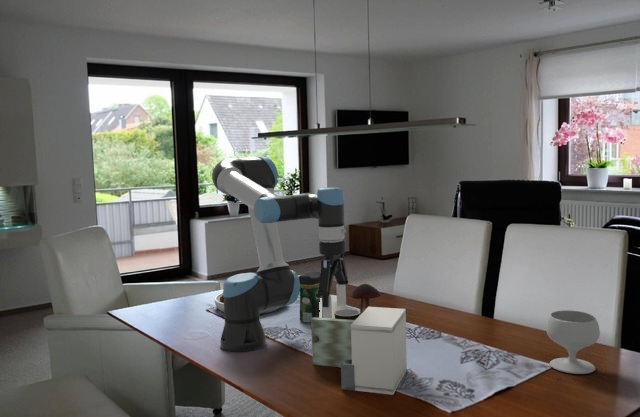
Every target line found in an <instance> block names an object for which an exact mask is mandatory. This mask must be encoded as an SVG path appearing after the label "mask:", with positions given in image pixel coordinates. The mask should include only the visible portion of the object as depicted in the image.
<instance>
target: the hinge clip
mask: <svg viewBox="0 0 640 417" xmlns="http://www.w3.org/2000/svg"><path fill="white" fill-rule="evenodd" d="M340 377H341V390H344V391H351V392H352V391H355V379H354V365H352V359H349V358H346V359H345V363H341V367H340ZM355 392H356V391H355Z"/></svg>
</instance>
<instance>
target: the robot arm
mask: <svg viewBox="0 0 640 417" xmlns="http://www.w3.org/2000/svg"><path fill="white" fill-rule="evenodd" d="M278 172H279V171H278V168H277V166H276V164H275V163H274V161H273V160H272V159H271V158H269V157H267V156H258V155H257V156H245V157H243V156H241V157H228V158H227V157H226V158H224V159H222V160H220V161H219V162H218V163H217V164H216V165H215V166H214V168H213V171H212V173H211V177H212V178H211V180H212V184H213V186H214V187H215V188H216V189H217V190H218V191H219V192H221V193H222V194H225V195H228V196H229V195H230V196H232V197H234V198H236V199H237V200H238V201H240V202H241V203H243V204H244V205H245V206H247V207H248V210H249V214H250V215H249V216H250V220H251V221H250V222H251V226H252V231H253V237H254V240H255V242H254V243H255V247H256V251H257V257H258V263H259V268H258V269H257V270H256V272H242V273H238V274H234V275H232V276H229V277H228V278H226V279H225V280H224V283H223V285H222V286H223V290H222V293H223V298H224V312H223V313H224V314H223V315H224V324H223V329H222V332H221V336H220V347H221V349H223V350H224V351H227V352H235V353H237V352H240V353H241V352H249V351H255V350H258V349H260V348H262V347H265V345H266V344H267V336H266V334H265V331H264V328H263V326H262V325H263V324H262V322H261V318H260V317H261V314H259V311H261V310H267V309H272V308H277V307H281V308H282V307H286V306H289V305H293V304H294V303H296V301H297V299H298V298H299V296H300V281H299V276H298V274H297V272H296V271H295V270H291V267H290V264H288V263H287V262H285V259H284V255H283V254H284V252H283V249H282V244H281V238H280V234H279V229H278V228H279V227H278V224H277V223H279V222H280V223H281V222H287V221H298V220H309V219H317V220H318V240H319V243H318V244H319V247H318V248H319V254H320V255H323V256H325V258H324V260H323V259H322V260H321V261H320V273H321V274H320V282H319V290H318V296H321V298H322V318H331V319H333V306H332V294H331V291H332V285H333V282H334V278H335V280H336V285H335V286H336V290H335V291H336V306H337V307H346V306H347V293H346V292H347V291H346V288H347V287H346V285H349V280H348V273H347V268H346V265H345V264H346V263H345V258H344V257H345V256H344V254H345V253H346V242H345V238H346V237H345V233H346V232H347V229H345V211H344V210H345V209H344V208H345V207H344V206H345V200H344V192H343V189H342V188H340V187H333V186H332V187H321V188H320V187H319V188H318V189H317V193H312V192H304V193H300V194H291V195H289V194H288V195H278V194H276V193H275V188H276V186H277V185H278V182H279V180H278V179H279V173H278Z"/></svg>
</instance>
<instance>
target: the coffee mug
mask: <svg viewBox="0 0 640 417" xmlns="http://www.w3.org/2000/svg"><path fill="white" fill-rule="evenodd" d="M359 316H360V310H358V309H353V308H340V309H337V310H335V311H334V319H345V320H356V319H357V318H358V317H359Z"/></svg>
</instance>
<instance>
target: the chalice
mask: <svg viewBox="0 0 640 417" xmlns="http://www.w3.org/2000/svg"><path fill="white" fill-rule="evenodd" d="M545 329H546V334H547V336H548V337H549V339H551V341H553V342H554V343H556V344H558V345H559V346H561V347H563V348H564V349H565V350H566V351H567V353H568V357H559V358H554V359H552V360H551V361H550V362H549V366H550V367H551V368H552V369H555V370H557V371H559V372H562V373H567V374H574V375H586V374H591V373H593V372H595V371H596V368H597V367H596V366H595V365H594V364H593V363H592V362H589V361H587V360H584V359H580V358H577V353H578V352H579V351H580V350H582V349H584V348H587V347H591V346H592V345H594V344H596V343H597V342H598V340H599V338H600V336H601V332H600V331H601V330H600V325H599V321H597V319H596V317H595V315H593V314H591V313H588V312H584V311H578V310H569V309H568V310H557V311H553V312H552V313H550V315H549V316H548V319H547V321H546V326H545Z"/></svg>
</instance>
